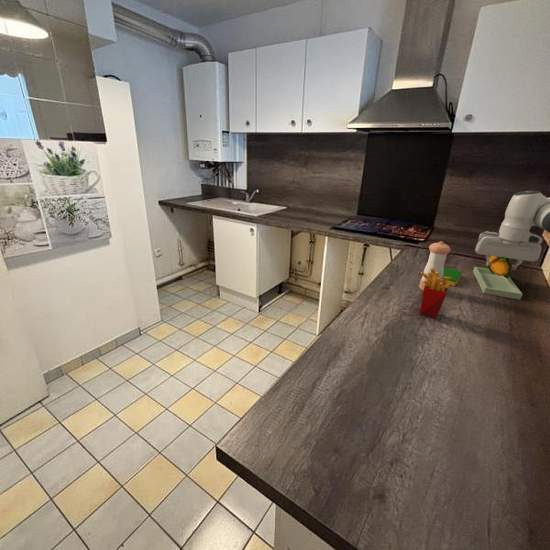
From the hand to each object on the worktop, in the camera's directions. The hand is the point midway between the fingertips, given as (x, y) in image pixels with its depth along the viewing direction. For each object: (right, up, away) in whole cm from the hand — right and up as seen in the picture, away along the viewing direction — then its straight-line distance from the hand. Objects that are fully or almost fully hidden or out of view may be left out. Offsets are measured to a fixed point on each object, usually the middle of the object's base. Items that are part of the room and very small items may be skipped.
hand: (500, 267), depth 117 cm
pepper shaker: (-30, -9, -3) cm, 32 cm away
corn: (0, -3, +1) cm, 3 cm away
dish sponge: (-17, -5, +7) cm, 19 cm away
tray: (0, -7, +3) cm, 7 cm away
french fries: (-41, -16, -21) cm, 49 cm away
